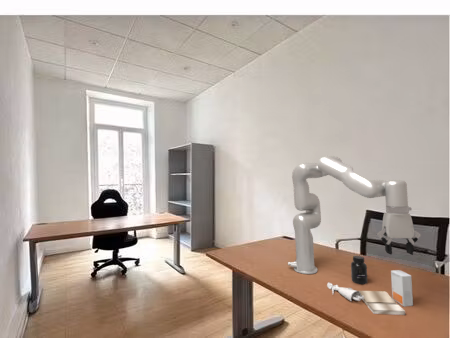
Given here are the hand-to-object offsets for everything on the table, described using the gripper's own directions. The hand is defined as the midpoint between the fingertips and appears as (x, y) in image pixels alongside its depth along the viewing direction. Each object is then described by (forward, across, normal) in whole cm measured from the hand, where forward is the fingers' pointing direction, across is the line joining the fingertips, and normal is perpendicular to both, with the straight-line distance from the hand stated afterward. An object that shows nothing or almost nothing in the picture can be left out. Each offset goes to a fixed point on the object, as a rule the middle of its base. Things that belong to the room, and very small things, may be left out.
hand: (399, 253), depth 100 cm
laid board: (+20, +10, +7) cm, 23 cm away
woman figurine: (+20, +21, -5) cm, 30 cm away
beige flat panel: (+19, +9, -1) cm, 22 cm away
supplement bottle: (+20, +9, -19) cm, 29 cm away
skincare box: (+20, 0, 0) cm, 20 cm away
